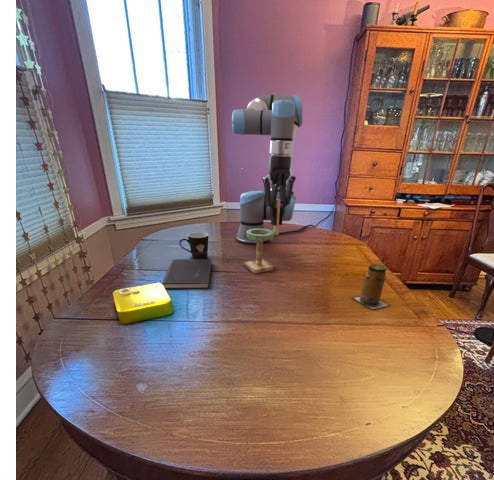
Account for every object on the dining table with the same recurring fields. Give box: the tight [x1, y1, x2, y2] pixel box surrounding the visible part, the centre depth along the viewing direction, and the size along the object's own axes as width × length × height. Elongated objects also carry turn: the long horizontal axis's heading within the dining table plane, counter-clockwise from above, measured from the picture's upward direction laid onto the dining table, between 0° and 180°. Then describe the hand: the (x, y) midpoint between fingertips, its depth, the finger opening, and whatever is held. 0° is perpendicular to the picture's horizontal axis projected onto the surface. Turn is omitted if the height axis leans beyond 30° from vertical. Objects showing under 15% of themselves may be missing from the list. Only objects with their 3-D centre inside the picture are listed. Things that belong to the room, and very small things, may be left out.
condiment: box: [353, 263, 389, 310], centre depth 95 cm, size 7×8×12 cm
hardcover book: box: [161, 258, 213, 290], centre depth 112 cm, size 16×23×2 cm
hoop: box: [246, 199, 281, 242], centre depth 112 cm, size 13×10×13 cm
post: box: [243, 234, 275, 274], centre depth 118 cm, size 9×9×14 cm
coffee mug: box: [178, 231, 210, 259], centre depth 127 cm, size 12×9×10 cm
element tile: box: [112, 282, 174, 325], centre depth 89 cm, size 15×15×5 cm
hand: (276, 224), depth 115 cm, fingers closed on hoop, 2 cm apart
